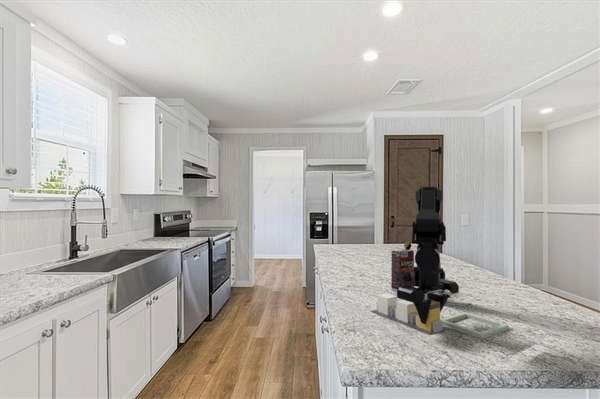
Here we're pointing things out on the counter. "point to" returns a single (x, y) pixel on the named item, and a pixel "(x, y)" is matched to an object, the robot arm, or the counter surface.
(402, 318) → the block
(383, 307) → the block
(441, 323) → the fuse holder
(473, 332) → the tray
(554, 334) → the counter surface
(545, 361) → the counter surface
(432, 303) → the block
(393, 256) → the supplement box
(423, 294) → the robot arm
